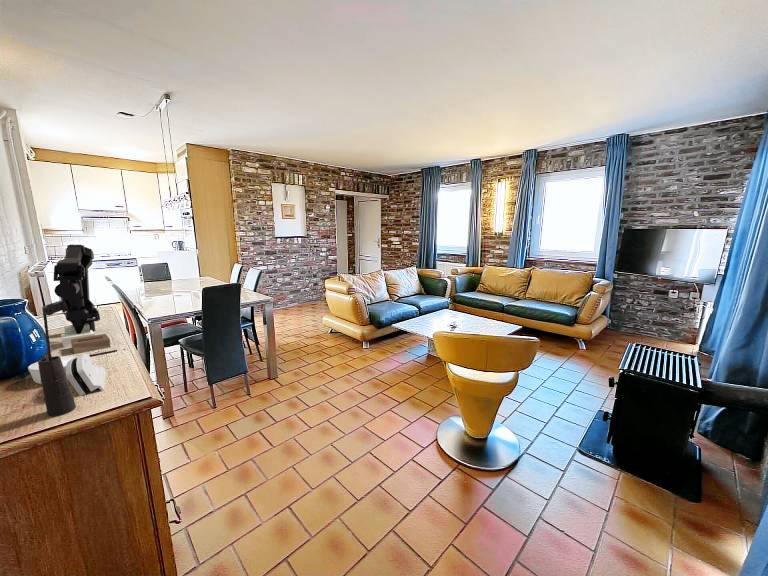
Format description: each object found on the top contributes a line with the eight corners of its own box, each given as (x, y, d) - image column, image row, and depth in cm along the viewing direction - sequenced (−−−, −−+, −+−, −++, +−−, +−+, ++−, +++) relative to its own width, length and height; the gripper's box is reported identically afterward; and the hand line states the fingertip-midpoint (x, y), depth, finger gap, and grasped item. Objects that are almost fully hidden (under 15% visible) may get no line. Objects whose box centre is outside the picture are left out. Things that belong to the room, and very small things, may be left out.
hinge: (103, 390, 90) (83, 363, 86) (83, 400, 88) (61, 372, 84) (106, 371, 103) (89, 346, 99) (89, 379, 100) (70, 354, 97)
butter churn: (33, 409, 80) (16, 304, 75) (84, 397, 86) (71, 300, 82) (29, 425, 73) (10, 312, 69) (84, 410, 80) (70, 306, 76)
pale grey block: (66, 343, 123) (63, 326, 121) (90, 339, 128) (88, 323, 127) (67, 345, 120) (64, 328, 119) (91, 341, 126) (89, 325, 124)
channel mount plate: (66, 350, 119) (64, 338, 118) (110, 343, 129) (109, 331, 128) (70, 360, 110) (68, 347, 109) (117, 351, 120) (115, 339, 119)
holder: (62, 346, 123) (61, 334, 122) (93, 341, 130) (91, 330, 129) (64, 350, 119) (62, 338, 118) (95, 345, 125) (94, 333, 125)
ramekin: (81, 378, 97) (79, 363, 96) (28, 390, 89) (25, 373, 89) (81, 367, 105) (79, 353, 104) (32, 377, 97) (30, 361, 97)
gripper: (41, 292, 121) (46, 330, 123) (43, 300, 109) (49, 341, 111) (80, 289, 129) (85, 325, 132) (86, 296, 117) (91, 335, 120)
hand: (77, 331), depth 123 cm, fingers open, 8 cm apart
